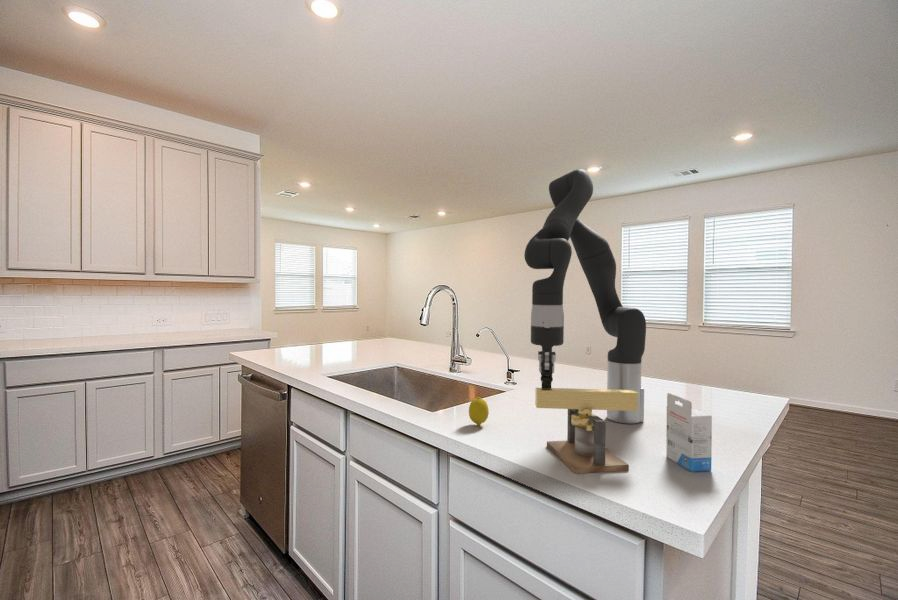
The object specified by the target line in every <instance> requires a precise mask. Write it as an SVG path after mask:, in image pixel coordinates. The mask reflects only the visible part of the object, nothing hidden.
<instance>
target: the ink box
mask: <svg viewBox="0 0 898 600" xmlns="http://www.w3.org/2000/svg"><path fill="white" fill-rule="evenodd" d="M676 402H679V403H681V404H677V403H676ZM692 406H693V404H692V401H690V400H688V399H686V398H683V397H681V396H678V395H676V394H672V393H669V392H668V393H666V447H665V448H666V451H665V452H666V458H668V459H670V460H671V461H673V462H674V463H676V464H678V465H679V466H681V467H682V468H684V469H686V470H687V471H689V472H711V471H712V458H713V457H712V453H713V451H712V444H713V443H712V442H713V441H712V439H713V438H712V437H713V436H712V435H713V434H712V433H713V432H712V429H713V427H712V426H713V421H712V419H713V416H712V415H710V414H708V413H705V412H703V411H700V410H697V409H696V408H693V407H692Z"/></svg>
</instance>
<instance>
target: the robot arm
mask: <svg viewBox="0 0 898 600" xmlns="http://www.w3.org/2000/svg"><path fill="white" fill-rule="evenodd" d="M548 185H549V186H548V192H549V196H550V199H551V201H552V204H553V205H554V208H553V209H552V210H551V211H550V213H549V214H548V216H547V217H546V218H545V221H544V224H543V226H542V228H541V229H540V230H539V231H537V232H536V233H535V234H534V235H533V236H532V237H531V239H529V241H528V243H527V244H526V246H525V250H524V261H525V262H526V266H528V267H529V268H530V269H533V270H552V273H551V274H550V275H549V276H547V277H545V278H541V279H537V280H535V281H533V283H532V289H531V290H532V291H531V295H532V297H531V299H532V300H531V304H532V305H531V311H530V343H531V344H532V345H535V346H541V350H539V351H537V352H538V353H537V360H538V362H539V363H538V369H539V370H538V371H539V373H540V382H541V388H552V383H553V378H554V377H553V374H554V373H555V362H556V359H557V358H556V357H557V356H556V352H555V351H553V347H554V346H555V347H558V346H562V345H563V344H564V337H565V336H564V333H565V332H564V329H565V328H564V327H565V323H564V321H565V319H564V318H565V313H564V312H565V311H564V305H563V304H564V285H565V280H566V275H567V271H568V268H569V265H570V262H571V259H572V254H573V251H572V246H573V249H574V251H575V254H576V257H577V260H578V261H579V263H580V267H581V269H582V271H583V273H584V275H585V278H586V280H587V282H588V285H589V288H590V290H591V293H592V295H593V298H594V300H595V304H596V307H597V311H598V314H599V317H600V320H601V324H602V327H603V329H604V330H605V332H606V333H607V334H608V335H610V336H612V337H614V338H616V346H615V347H614V348H613V349H609V350H608V351H607V367H606V368H607V370H606V371H607V373H606V374H607V375H606V376H607V381H606V382H607V383H606V384H607V385H606V386H607V387H606V389H610V390H634V391H636V392H638V411H623V410H606V418H607V419H608V420H610V421H612V422H616V423H621V424H630V425H631V424H632V425H633V424H639V423H641V422H644V421H645V389H644V388H643V387H642V360H643V356H644V352H645V349H646V337H647V336H646V334H647V321H646V318H645V314H644V313H643V311H642V310H640V309H638V308H636V307H625V306H623V304H622V303H621V300H620V299H619V295H618V293H617V288H616V277H617V276H616V275H617V262H616V259H615V256H614V254H613V252H612V248H611V247H610V244H609V242H608V241H607V240H606V239H605V237H603V236H602V235H600V233H598V232H596V231H595V230H593V229H592V228H590V227H589V226H588V225H587V224H585V223H584V222H583V221H582V220H581V219H580V218H579V216H580V214H581V213H582V212H583V210H584V208H585V207H586V205H588V203H589V201H590V200H591V199H592V196H593V193H594V185H593V180H592V178H591V177H590V174H589V173H588V172H587V171H586V170H585V169H582V168H579V169H574V170H572V171H570V172H568V173H566V174H564V175H562V176H560V177H558V178H555V179H553V180H552V181H551V182H550V183H549V184H548ZM569 241H571V244H572V245H571V244H570V242H569Z"/></svg>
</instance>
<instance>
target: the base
mask: <svg viewBox="0 0 898 600" xmlns="http://www.w3.org/2000/svg"><path fill="white" fill-rule="evenodd" d="M577 412H579V409H567V437H566V438H567V440H552V441H548V440H547V441H546V447H547V448H548V450H550V451H551V452H552V453H553V454H554V455H555V456H556V457H557V458H558V460H560V461H561V462H562V463H563V464H564V465H565V466H567V468H569V470H571V472H573V473H574V474H575V475H576V474H577V475H578V474H589V473H590V474H591V473H605V472H607V473H608V472H622V471H629V470H630V465H629V464H628V463H627V462H626V461H624V460H623V459H622V458H620V457H619V456H617V455H616V454H615V453H614V452H612V451H610V450H609V449H608V448H606V437H607V435H606V433H607V431H606V429H607V428H606V426H607V425H606V420H605V419H603V418H602V417H600V416H598V415H596V416H588V421H589V422H591V423H592V424H594V431H587V430H586V429H584V428H579V427H575V426H573V425H572V424H571V415H572V414H574V413H577Z"/></svg>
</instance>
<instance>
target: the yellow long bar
mask: <svg viewBox="0 0 898 600" xmlns="http://www.w3.org/2000/svg"><path fill="white" fill-rule="evenodd" d="M534 392H535V407H536V409H557V410H561V409H563V410H568V409H579V412H577V413H574V414H572V415H571V424H572V425H573V426H575V427H579V428H584V429H586V430H587V431H594V424H592V423H591V422H589V421H588V416H597V414H593V411H595V410H596V411H607V410H623V411H638V392H636V391H634V390H610V389H607V388H605V389H604V388H603V389H601V388H600V389H598V388H597V389H596V388H568V387H567V388H565V387H563V388H562V387H559V388H558V387H557V388H556V387H551V388H542V387H535V391H534Z"/></svg>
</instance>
